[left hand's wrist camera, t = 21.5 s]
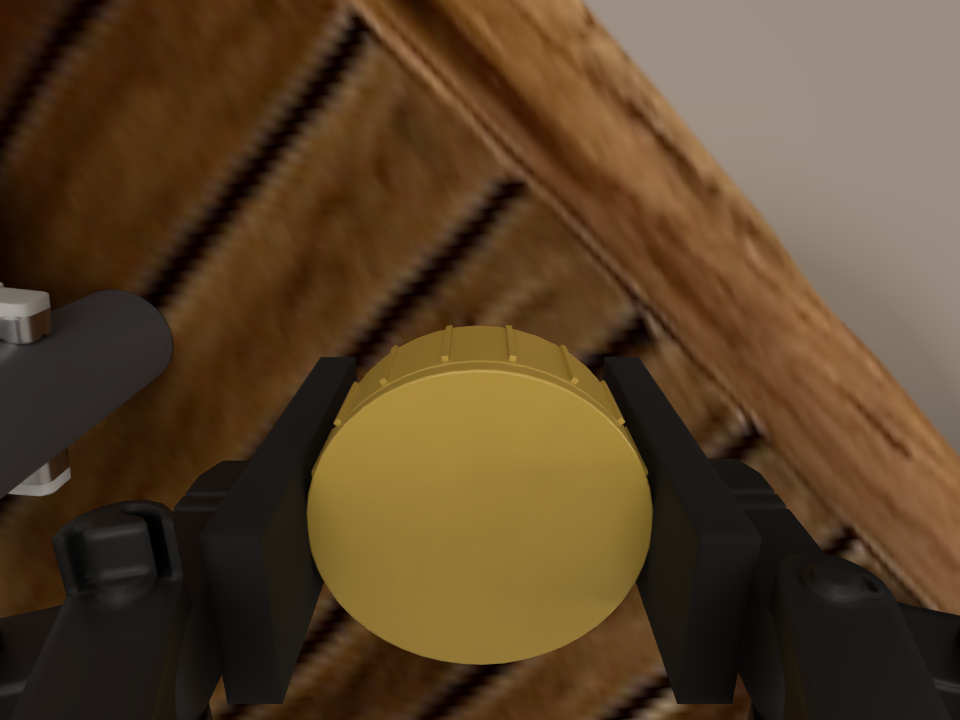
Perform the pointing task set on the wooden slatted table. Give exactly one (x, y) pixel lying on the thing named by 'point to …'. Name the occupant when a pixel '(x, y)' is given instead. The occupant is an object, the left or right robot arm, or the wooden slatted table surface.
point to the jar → (75, 377)
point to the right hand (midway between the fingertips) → (51, 395)
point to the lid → (479, 498)
